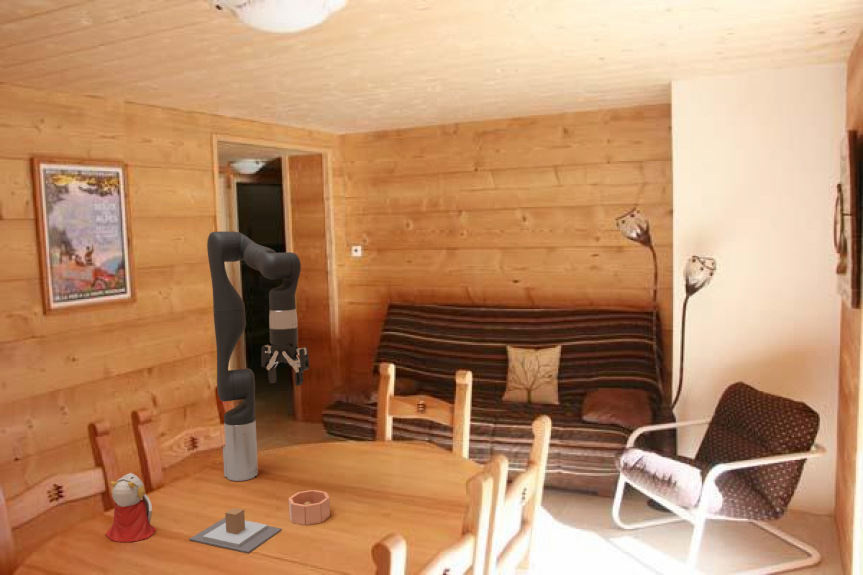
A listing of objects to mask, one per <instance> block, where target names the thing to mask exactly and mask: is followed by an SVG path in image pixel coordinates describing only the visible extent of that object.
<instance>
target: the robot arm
mask: <svg viewBox="0 0 863 575" xmlns="http://www.w3.org/2000/svg"><path fill="white" fill-rule="evenodd" d="M206 247H207V258H208V264H209V272H210V278H211V286H212V287H211V288H212V289H211V290H212V304H213V305H212V306H213V310H212V311H213V323H214V324H213V325H214V332H215V333H214V334H215V345H216V385H217V386H216V388H217V396H218V398H219V401H221V402H231V401H233V402H234V401H239V400H242V401H241V402H239V404H238V405H236V406H235V407H233V408H231V409H229V410H227V411H225V413H224V415H223V421H224V422H223V424H224V442H225V443H224V444H225V445H223V447H222V455H223V457H222V458H223V460H222V461H223V476H224V478H227V480H229V481H236V482H240V481H241V482H242V481H247V480H251V479H254V478H255V476H256V477H257V476H258V474H259V470H258V469H259V468H258V446H257V445H258V444H257V427H256V425H257V423H256V400H255V399H256V380H255V374H254V372H253V370H252V369H251V368H238V369H231V370H229V365H230V360H231V356H232V355H233V352H234V350H235V347H236V346H237V344H238V342H239V341H240V339H241V338H242V335H243V333H244V331H245V329H246V326H247V320H246V319H247V318H246V306H245V302H244V300H243V299H242V297H241V296H240V294H239V292H238V291H237V289H236V287H234V286H233V284H232V282H231V281H230V279H229V277H228V274H227V270H226V265H225V263H231V262H232V263H233V262H239V261H240V262H241V261H244V262H245V264H246V265H247V266H248V267H250V268H251V269H253V270H255V271H259V272H260V274H261V275H262V276H263V277H264V278H265V279H268V280H282V279H283V280H282V282H281V284H280V285H278V286H276V287H274V288H271V289H270V290H269V293H268V299H269V300H268V301H269V302H268V303H269V304H268V305H269V316H268V319H269V322H268V323H269V324H268V325H269V342H270V344H271V345H270V344H266V345H262V346H261V350H260V351H261V353H260V354H261V356H260V358H261V361H260V362H261V365H260V366H261V367H262V368H265V369H266V370H267V377H268V381H269V383H270V384H275V383H277V368H276V367H277V366H278V364H279V363H284V364H288V365H289V366H291V367H292V368H293V370H294V371H295V372H294V383H295V386H297V387H299V386H302V384H303V383H304V371H306V370H308V369H310V358H309V349H308V347H301V348H299V347H298V342H299V329H298V327H299V326H298V315H297V313H298V312H297V308H296V307H297V306H296V305H297V303H296V294H297V293H296V292H297V288H298V282H299V279H300V274H301V270H302V264H301V263H302V262H301V260H300V258H299V256H298V254H296V253H294V252H276V251H275V250H274V249H272V248H270V247H267V246H263V245H261V244H258V243H257V242H255V241H254V240H252V239H251V238H250V237H248V236H247V235H245V234H243V233H242V232H239V231H212V232H210V233H209V234H208V238H207V243H206ZM271 354H272V356H271Z"/></svg>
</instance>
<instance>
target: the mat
mask: <svg viewBox="0 0 863 575" xmlns="http://www.w3.org/2000/svg"><path fill="white" fill-rule="evenodd" d="M224 523H226V517H223V518H221V519H220V520H218V521H217V522H215V523H213V524H212V525H210V526H208V527H207V528H205V529H204V530H201V531H200V532H199V533H198V532H197V533H196V534H195V535H193V536H191V537H190V538H189V539H188V541H191V542H195V543H200V544H204V545H209V546H212V547H213V546H214V547H217V548H223V549H227V550H231V551H236V552H240V553H244V554H250V553H251V552H253V551H254V550H255V549H257V548H259V547H260V546H261V545H262V544H265V543H266V542H267V541H269V540H270V539H271V538H273V537H274V536H276V535H277V534H278V533H280V532H281V531H282V530H283V529H282V528H280V527H275V526H271V525H268V528H267V529H265V530H264V531H262V532H261V533H259V534H258V535H256V536H255V537H253V538H252V539H250V540H249V541H247V542H246V543H244V544H243V545H241V546H240V547H235V546H231V545H226V544H222V543H217V542H213V541H208V540H203V536H204V535H206V534H207V533H209V532H211V531H212V530H214V529H216V528H217V527H219V526H221V525H222V524H224Z"/></svg>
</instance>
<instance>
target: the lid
mask: <svg viewBox="0 0 863 575" xmlns="http://www.w3.org/2000/svg"><path fill="white" fill-rule="evenodd" d="M224 514H225V517H226V523H224V524H222V525H221V526H219V527H217V528H216V529H214V530H212V531H211V532H209V533H207V534H206V535H204V536H203V540H208V541H213V542H217V543H222V544H226V545H231V546H235V547H240V546H241V545H243V544H244V543H246V542H247V541H249V540H250V539H252V538H253V537H255V536H256V535H258V534H259V533H261V532H262V531H264V530H265V529H267V528H268V526H269V524H264V523H259V522H255V521H249V520H245V509H242V508H239V507H238V508H237V507H233V508H231V509H229V510H228V511H226V512H225V513H224ZM225 517H224V518H225Z"/></svg>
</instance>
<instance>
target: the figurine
mask: <svg viewBox="0 0 863 575" xmlns="http://www.w3.org/2000/svg"><path fill="white" fill-rule="evenodd" d="M110 485H111V487H112V488H111V496H112V499H113V501H114V503H115V504H114V510H113V523H112V525H111V527H109V529H108V530H107V531H106V532H105V535H106V536H107V537H108V539H110V540H111V541H113V542H117V543H134V542H139V541H142V540H147V539H149V537H151V536H152V535H154V534H155V533H156V530H157V528H156V527H155V526H153V525H152V524H151V520H152V519H151V518H152V516H153V515H152V512H153V506H152V505H153V504H152V502H151V499H150V498H149V496H148V495H147V494H146V493H145V492H147V490H146V489H145V487H146V488H147V486H146V485H144V483H143V481H142V480H141V479H140V478H139V476H137V475H136V474H134V473H133V472H129V473H127V474H124V475H123V476H122V477H120V478H118V479H117V480H116V481H113V480H112V481H110Z"/></svg>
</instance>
